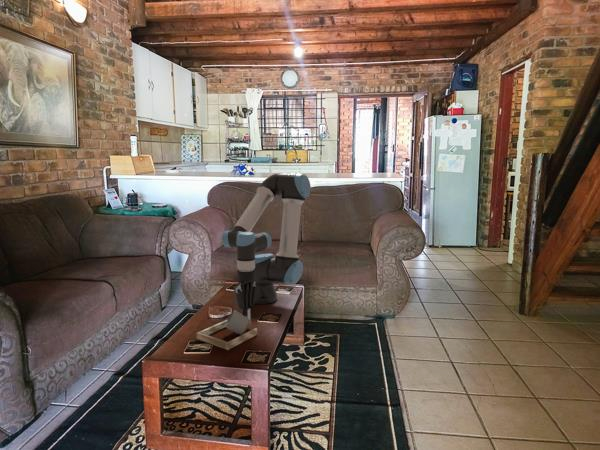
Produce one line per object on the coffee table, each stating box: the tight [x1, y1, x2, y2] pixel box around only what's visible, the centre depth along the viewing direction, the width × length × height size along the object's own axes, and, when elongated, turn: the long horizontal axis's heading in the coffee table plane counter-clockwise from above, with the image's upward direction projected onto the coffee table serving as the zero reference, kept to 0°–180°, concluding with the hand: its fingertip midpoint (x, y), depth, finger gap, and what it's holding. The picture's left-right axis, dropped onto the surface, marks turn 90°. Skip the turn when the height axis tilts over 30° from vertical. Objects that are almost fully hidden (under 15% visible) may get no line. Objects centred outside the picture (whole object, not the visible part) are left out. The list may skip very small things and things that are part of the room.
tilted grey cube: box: [225, 309, 251, 336], centre depth 170 cm, size 11×8×8 cm
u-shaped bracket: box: [196, 319, 258, 351], centre depth 167 cm, size 17×17×2 cm
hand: (246, 323), depth 176 cm, fingers closed
